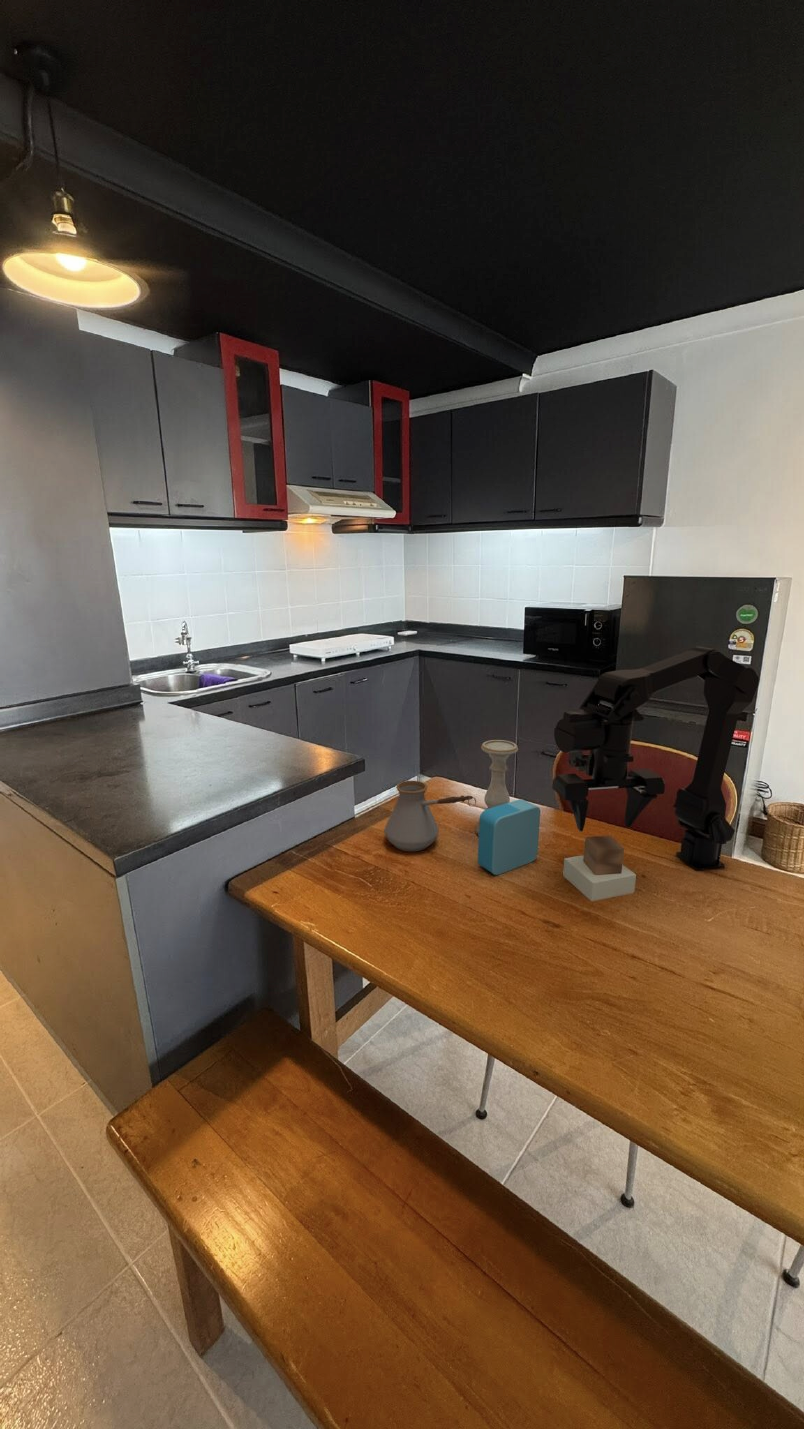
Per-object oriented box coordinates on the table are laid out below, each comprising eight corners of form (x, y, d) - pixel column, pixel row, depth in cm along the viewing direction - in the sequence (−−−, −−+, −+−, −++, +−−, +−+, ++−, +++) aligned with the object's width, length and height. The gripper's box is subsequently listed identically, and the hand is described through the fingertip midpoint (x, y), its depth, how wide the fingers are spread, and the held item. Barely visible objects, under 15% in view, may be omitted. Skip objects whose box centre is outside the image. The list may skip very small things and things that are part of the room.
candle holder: (471, 825, 132) (474, 739, 127) (509, 823, 133) (513, 738, 127) (480, 843, 124) (484, 752, 118) (520, 841, 124) (526, 751, 119)
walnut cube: (608, 859, 110) (611, 835, 109) (621, 873, 105) (624, 848, 104) (583, 861, 109) (585, 836, 108) (594, 875, 105) (597, 850, 103)
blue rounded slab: (521, 851, 120) (524, 797, 117) (537, 860, 117) (541, 804, 114) (476, 867, 114) (479, 810, 111) (492, 877, 110) (495, 819, 107)
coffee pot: (373, 843, 123) (372, 777, 120) (409, 825, 132) (409, 762, 128) (453, 880, 110) (455, 806, 106) (488, 857, 118) (491, 788, 114)
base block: (603, 869, 114) (604, 851, 113) (633, 894, 106) (636, 874, 105) (562, 877, 111) (564, 858, 110) (591, 903, 103) (593, 883, 102)
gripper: (635, 730, 111) (626, 806, 115) (542, 735, 107) (537, 813, 111) (672, 748, 100) (660, 831, 104) (570, 754, 97) (562, 840, 101)
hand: (603, 828), depth 105 cm, fingers open, 9 cm apart
